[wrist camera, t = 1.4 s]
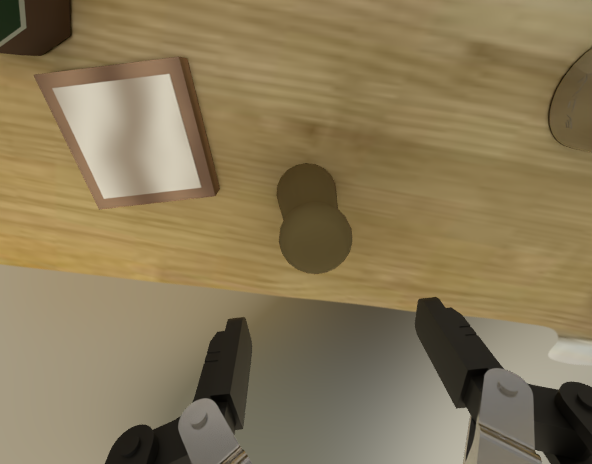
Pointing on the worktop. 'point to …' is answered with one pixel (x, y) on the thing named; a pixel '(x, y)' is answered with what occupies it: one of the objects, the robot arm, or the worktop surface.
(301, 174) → the brown rounded piece
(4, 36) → the beer bottle
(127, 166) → the picture frame
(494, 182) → the worktop surface
